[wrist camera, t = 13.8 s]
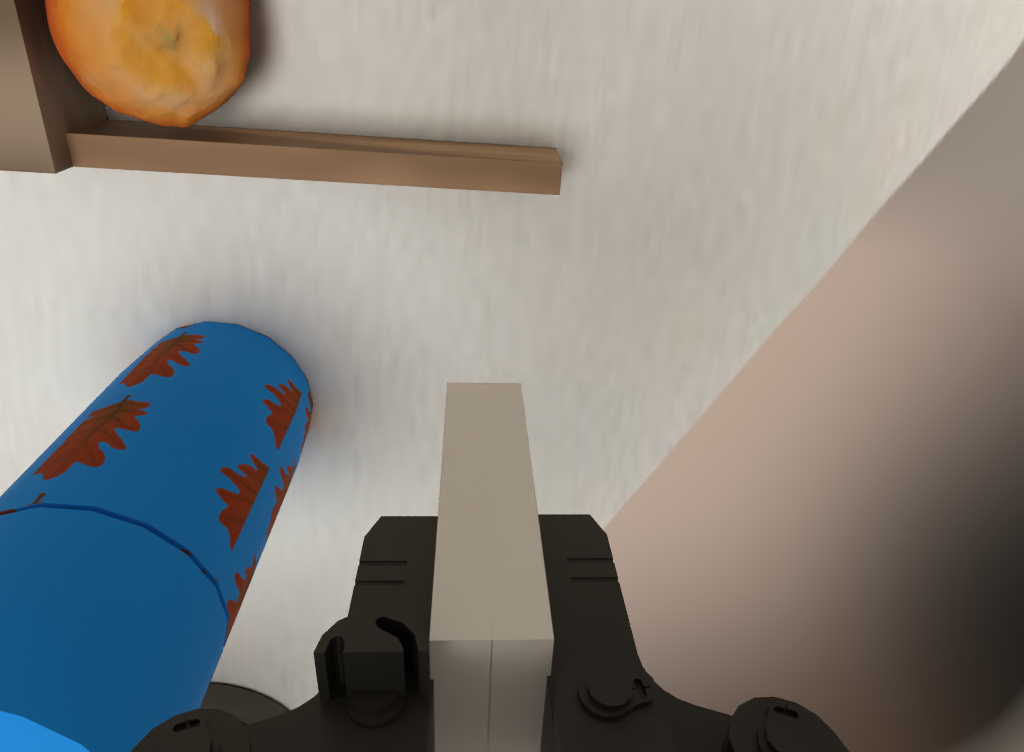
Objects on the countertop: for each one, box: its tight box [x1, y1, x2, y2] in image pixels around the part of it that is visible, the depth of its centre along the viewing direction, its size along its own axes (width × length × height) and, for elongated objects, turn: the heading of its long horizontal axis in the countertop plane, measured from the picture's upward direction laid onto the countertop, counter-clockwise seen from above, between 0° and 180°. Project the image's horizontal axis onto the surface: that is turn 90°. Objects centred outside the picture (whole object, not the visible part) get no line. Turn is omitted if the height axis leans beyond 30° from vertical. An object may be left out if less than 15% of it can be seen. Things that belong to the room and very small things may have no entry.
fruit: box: [45, 0, 251, 128], centre depth 31 cm, size 8×8×8 cm
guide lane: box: [0, 0, 562, 195], centre depth 31 cm, size 12×26×6 cm, turn 86°
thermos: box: [0, 322, 313, 752], centre depth 32 cm, size 11×11×25 cm
